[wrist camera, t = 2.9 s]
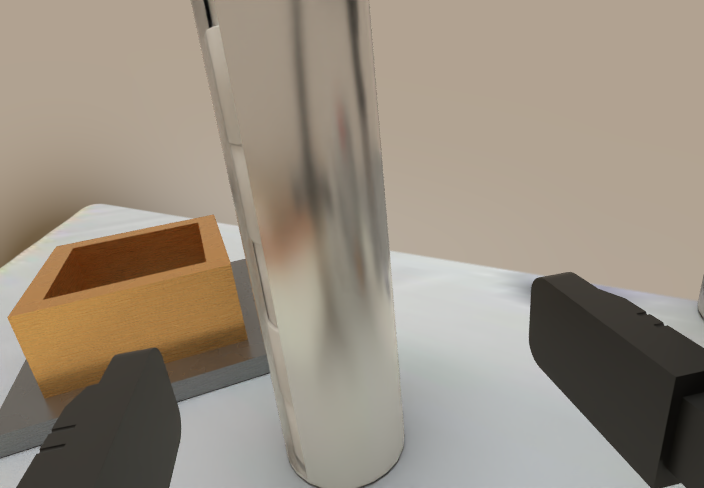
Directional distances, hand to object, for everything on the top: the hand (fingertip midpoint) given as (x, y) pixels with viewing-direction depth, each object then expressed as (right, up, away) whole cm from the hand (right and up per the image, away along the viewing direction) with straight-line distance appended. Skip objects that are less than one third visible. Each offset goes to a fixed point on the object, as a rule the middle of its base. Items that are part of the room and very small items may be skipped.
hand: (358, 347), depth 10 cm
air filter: (0, -9, +15) cm, 18 cm away
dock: (-16, -5, +27) cm, 32 cm away
